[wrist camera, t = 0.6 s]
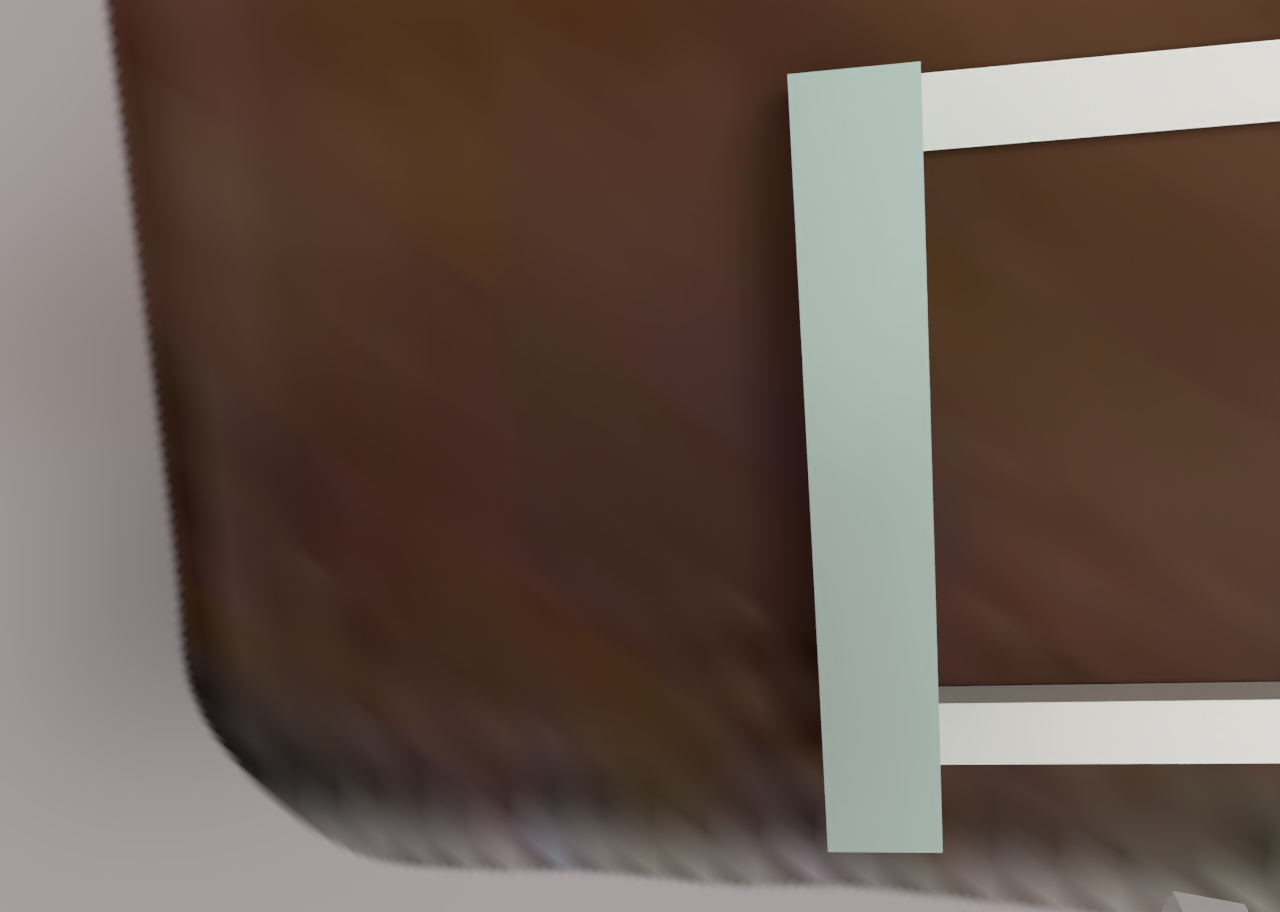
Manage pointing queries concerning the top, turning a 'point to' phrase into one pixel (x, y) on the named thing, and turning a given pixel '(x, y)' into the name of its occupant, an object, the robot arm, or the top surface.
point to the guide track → (901, 432)
